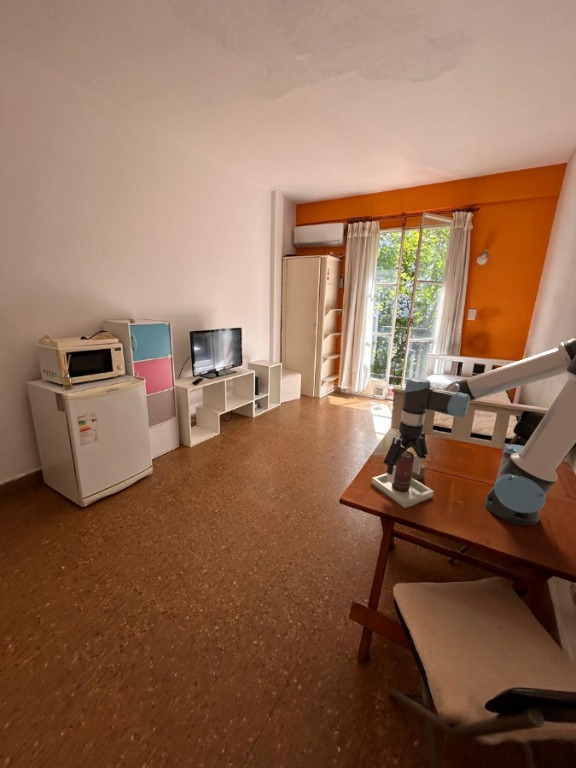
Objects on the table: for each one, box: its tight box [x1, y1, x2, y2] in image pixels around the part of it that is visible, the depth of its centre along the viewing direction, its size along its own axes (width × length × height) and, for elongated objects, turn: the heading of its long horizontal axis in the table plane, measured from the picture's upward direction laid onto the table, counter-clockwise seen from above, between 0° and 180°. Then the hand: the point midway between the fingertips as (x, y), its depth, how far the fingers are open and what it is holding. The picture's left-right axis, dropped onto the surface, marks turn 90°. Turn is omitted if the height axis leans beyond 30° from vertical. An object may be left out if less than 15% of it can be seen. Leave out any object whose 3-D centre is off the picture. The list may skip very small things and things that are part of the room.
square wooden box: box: [411, 464, 427, 481], centre depth 126 cm, size 8×8×5 cm
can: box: [392, 450, 415, 492], centre depth 115 cm, size 6×6×14 cm
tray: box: [371, 472, 434, 509], centre depth 116 cm, size 16×14×3 cm
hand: (403, 476), depth 115 cm, fingers open, 13 cm apart
